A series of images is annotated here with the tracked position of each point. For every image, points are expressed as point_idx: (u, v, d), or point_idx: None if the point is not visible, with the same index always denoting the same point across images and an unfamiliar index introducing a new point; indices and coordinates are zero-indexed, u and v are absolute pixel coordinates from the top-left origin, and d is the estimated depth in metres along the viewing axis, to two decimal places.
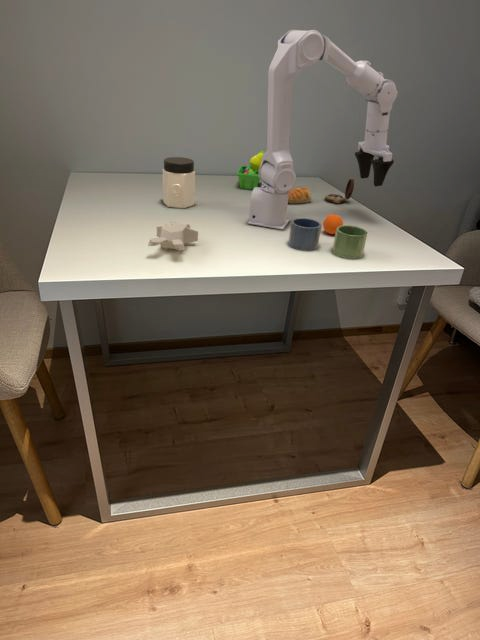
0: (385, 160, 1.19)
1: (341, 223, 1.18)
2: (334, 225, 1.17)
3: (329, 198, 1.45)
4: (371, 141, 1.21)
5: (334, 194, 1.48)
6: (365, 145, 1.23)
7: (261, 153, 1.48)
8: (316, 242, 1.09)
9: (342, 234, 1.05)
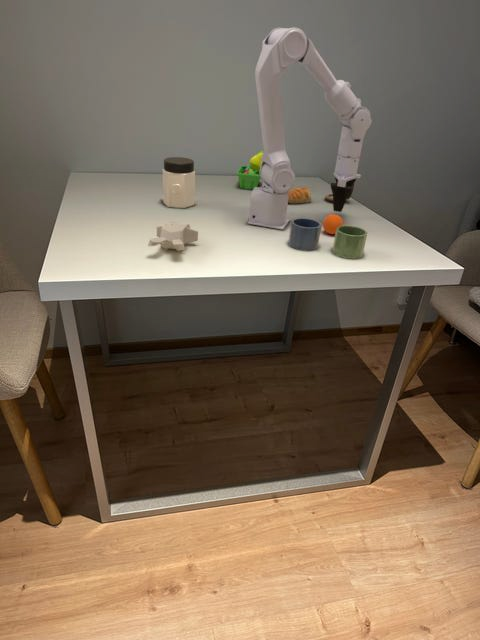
0: (338, 185, 1.18)
1: (341, 223, 1.18)
2: (334, 225, 1.17)
3: (329, 198, 1.45)
4: (337, 165, 1.21)
5: None
6: (335, 168, 1.23)
7: (261, 153, 1.48)
8: (316, 242, 1.09)
9: (342, 234, 1.05)
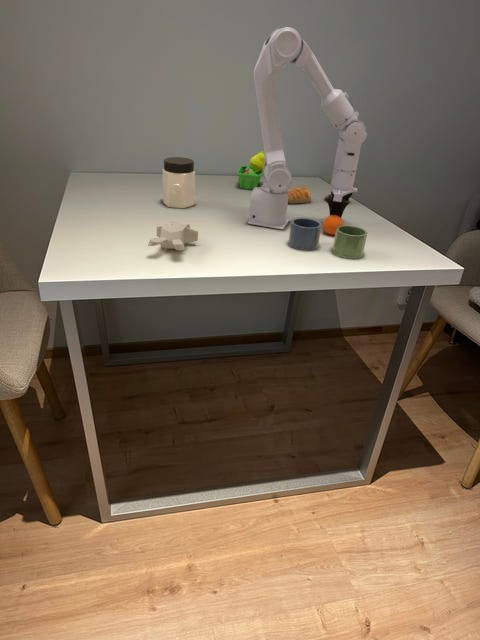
0: (334, 199, 1.15)
1: (341, 224, 1.17)
2: (334, 227, 1.17)
3: None
4: (334, 178, 1.18)
5: None
6: (331, 182, 1.20)
7: (261, 153, 1.48)
8: (316, 242, 1.09)
9: (342, 234, 1.05)
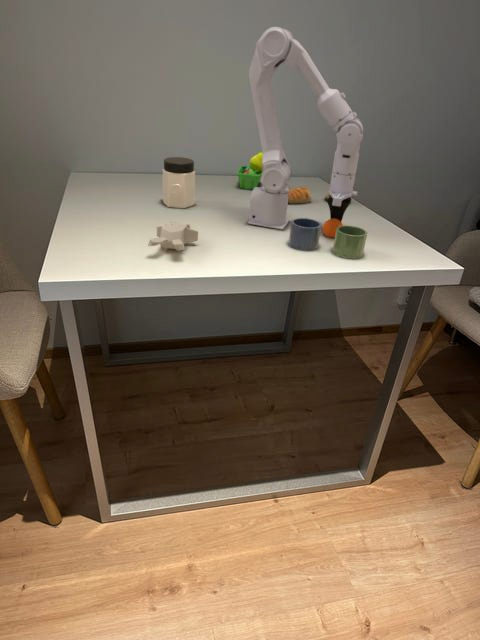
0: (333, 204, 1.11)
1: None
2: (332, 234, 1.17)
3: None
4: (332, 182, 1.13)
5: None
6: None
7: (261, 153, 1.48)
8: (316, 242, 1.09)
9: (342, 234, 1.05)
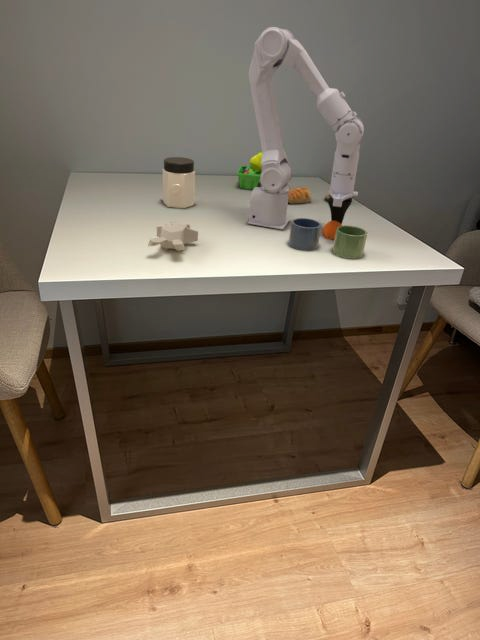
0: (333, 204, 1.09)
1: None
2: None
3: None
4: (333, 182, 1.12)
5: None
6: (330, 186, 1.15)
7: (261, 153, 1.48)
8: (316, 242, 1.09)
9: (342, 234, 1.05)
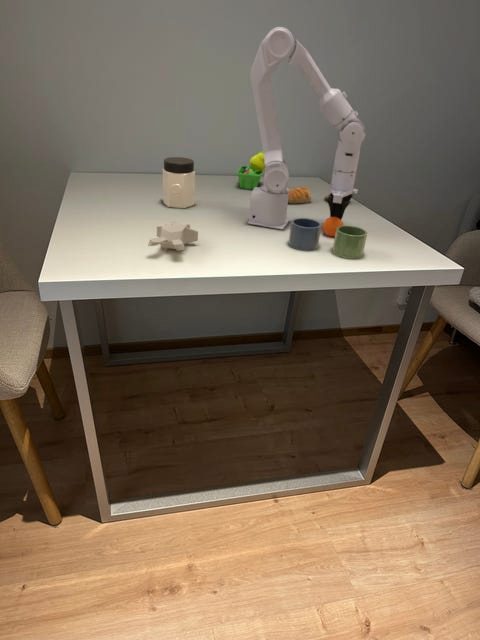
0: (333, 201, 1.13)
1: None
2: (333, 232, 1.17)
3: None
4: (333, 180, 1.16)
5: None
6: None
7: (261, 153, 1.48)
8: (316, 242, 1.09)
9: (342, 234, 1.05)
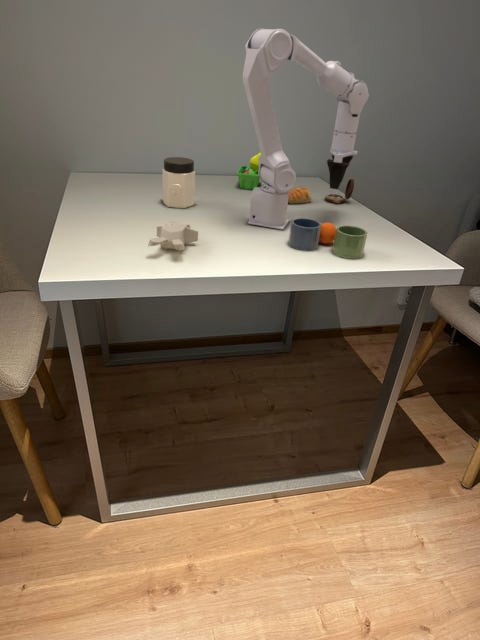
0: (334, 160, 1.16)
1: None
2: None
3: (329, 198, 1.45)
4: (334, 141, 1.19)
5: (334, 194, 1.48)
6: None
7: None
8: (316, 242, 1.09)
9: (342, 234, 1.05)
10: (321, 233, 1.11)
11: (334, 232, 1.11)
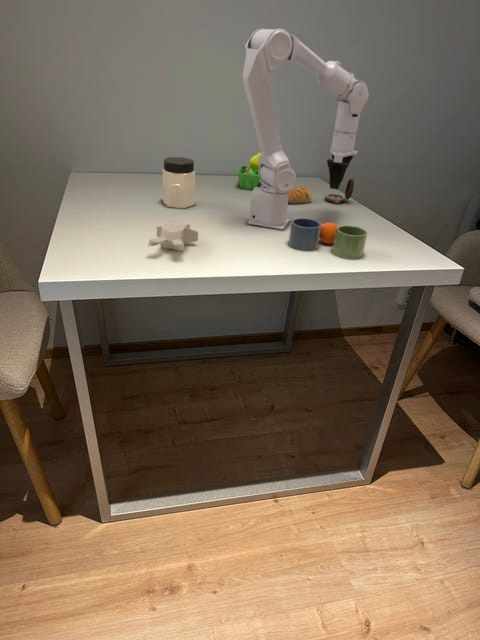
0: (334, 160, 1.16)
1: None
2: None
3: (329, 198, 1.45)
4: (334, 141, 1.19)
5: (334, 194, 1.48)
6: None
7: None
8: (316, 242, 1.09)
9: (342, 234, 1.05)
10: (325, 231, 1.11)
11: None
